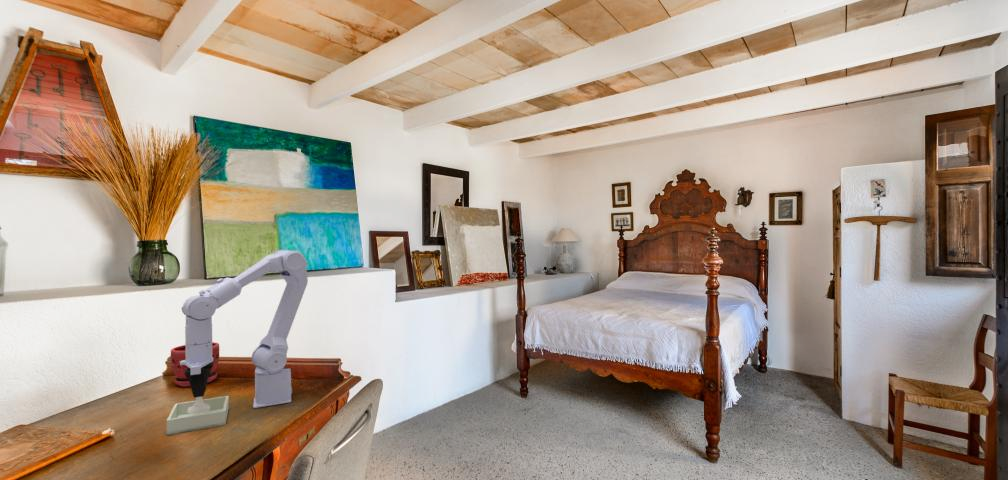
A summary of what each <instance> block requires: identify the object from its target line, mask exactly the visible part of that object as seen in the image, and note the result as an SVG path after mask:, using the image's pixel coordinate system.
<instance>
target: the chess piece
mask: <svg viewBox="0 0 1008 480" xmlns="http://www.w3.org/2000/svg"><path fill="white" fill-rule="evenodd" d="M203 399H204V396H202V397H195V401H196V402H195V404H194V405H193V406H191V407H189V408H188V411H187V412H188V413H191V414H196V413H202V412H205V411H208V410H209V409H210V405H209V404H204V402H203Z"/></svg>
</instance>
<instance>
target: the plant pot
mask: <svg viewBox="0 0 1008 480" xmlns="http://www.w3.org/2000/svg"><path fill="white" fill-rule="evenodd" d="M212 357H213V361H212V362H211V363H213V367H212V369H211V371H210V373H209V376H208V381H207V384H208V383H211V382H212V381H214V380H215V379H216V378H217V377H218V372H217V371H216V369H217V367H218V365H219V359H220V344H219V343H218V342H213V341H212ZM182 360H186V344H184V345H179V346H175V347H172V348H171V349H170V361H171V362H170V364H171V367H172V371H173V373H174V375H175V376H176V377H175V378H174V381H173V382H174V384H175V385H177V386H180V387H191V386H190V383H189V381H188V379H187V378H186V376H185V374H184V372H185V370H187V368H188V367H187V366H186V365H180V361H182Z"/></svg>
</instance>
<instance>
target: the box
mask: <svg viewBox="0 0 1008 480" xmlns="http://www.w3.org/2000/svg"><path fill="white" fill-rule="evenodd" d="M229 397H230V396H229V395H225V396H217V397H211V398H205V399H204V398H203V402H204V404H209V405H210V409H209V410H208V411H205V412H202V413H196V414H191V413H188V412H187V411H188V408H189V407H191V406H193V405H194V404H195V402H196V400H192V401H190V400H189V401H183V402H178V403H175V404H174V406H173V407H172V409H171V411H170V412H169V416H168V417H167V419H166V422H165V423H166V436H169V435H170V436H171V435H176V434H181V433H188V432H193V431H199V430H206V429H210V428H211V429H212V428H216V427H222V426H223V427H224V426H226V425H227V419H228V415H229V414H228V413H229V410H230V406H229V405H230V403H229V399H230V398H229Z"/></svg>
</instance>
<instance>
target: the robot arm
mask: <svg viewBox="0 0 1008 480" xmlns="http://www.w3.org/2000/svg"><path fill="white" fill-rule="evenodd" d="M308 263H309V262H308V260H307V259H306V258H305V256H304V254H303V253H302V252H301V251H299V250H295V249H294V250H287V249H285V250H284V249H278V250H276V251H274V252H273V253H270V254H268V255H266V256H265V257H263V258H262V259H260V260H259V261H257V262H256V263H255V264H253V265H251V266H250V267H249V268H247V269H246V270H244V271H242V272H241V273H239V274H238V275H237V276H235V277H225V278H221V277H220V278H219V279H217V280H216V283H214V284H213V285H212V286H210V287H208V288H206V289H205V290H204V289H201V290H199V291H198V295H193V296H190V297H188V298H187V299H186V300H185V302H183V305H182V306H181V312H182V314H184V316H185V327H184V328H185V331H184V334H185V336H184V337H185V342H184V343H185V344H184V345H186V360H182V361H180V360H179V362H180V365H186V366H187V367H188V368H187V370H185V372H184V374H185V376H186V378H187V379H188V381H189V383H190V386H189V387H190V388H191V393H192V396H193V398H195V399H196V397H205V396H204V395H205V393H206V391H207V386H208V383H207V381H208V376H209V373H210V371H211V369H212V367H213V363H211V362H212V361H213V357H212V342H213V320H212V316H214V314H215V313H216V310H217V309H220V308H221V307H222V306H224V305H226V304H228V302H230V301H232V300H234V299H235V298H236V297H238V296H240V295H241V292H242V290H243V288H244V287H246V286H247V285H249V284H251V283H253V282H254V281H256V280H258V279H260V278H261V277H264V276H265V275H266V274H269V273H276V272H277V273H279V274H280V275H281V277H282V278H283V281H285V283H286V285H285V288H284V290H283V293H282V295H281V298H280V301H279V304H278V306H277V307H276V311H275V314H274V315H273V319H272V321H271V324H270V327H269V330H268V331H267V334H266V336H264V337H263V338H262V339H261V340H260V342H259V344H258V346H257V347H256V348H255V349H254V350H253V351H252V354H251V359H250V360H251V362H252V364H253V365H254V366H255V369H254V396H255V397H254V398H253V405H252V407H253V409H257V408H265V407H271V406H276V405H277V406H278V405H282V404H287V403H288V404H289V403H292V394H293V387H292V375H291V374H292V373H291V370H292V369H291V368H285V367H286V364H287V361H288V357H287V355H288V354H287V353H288V350H289V344H288V341H287V339H288V337H289V334H290V331H291V329H292V326H293V324H294V320H295V319H296V315H297V313H298V309H299V307H300V304H301V303H302V299H303V295H304V294H305V291H306V289H307V286H308V281H309V279H308V273H307V266H308Z"/></svg>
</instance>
